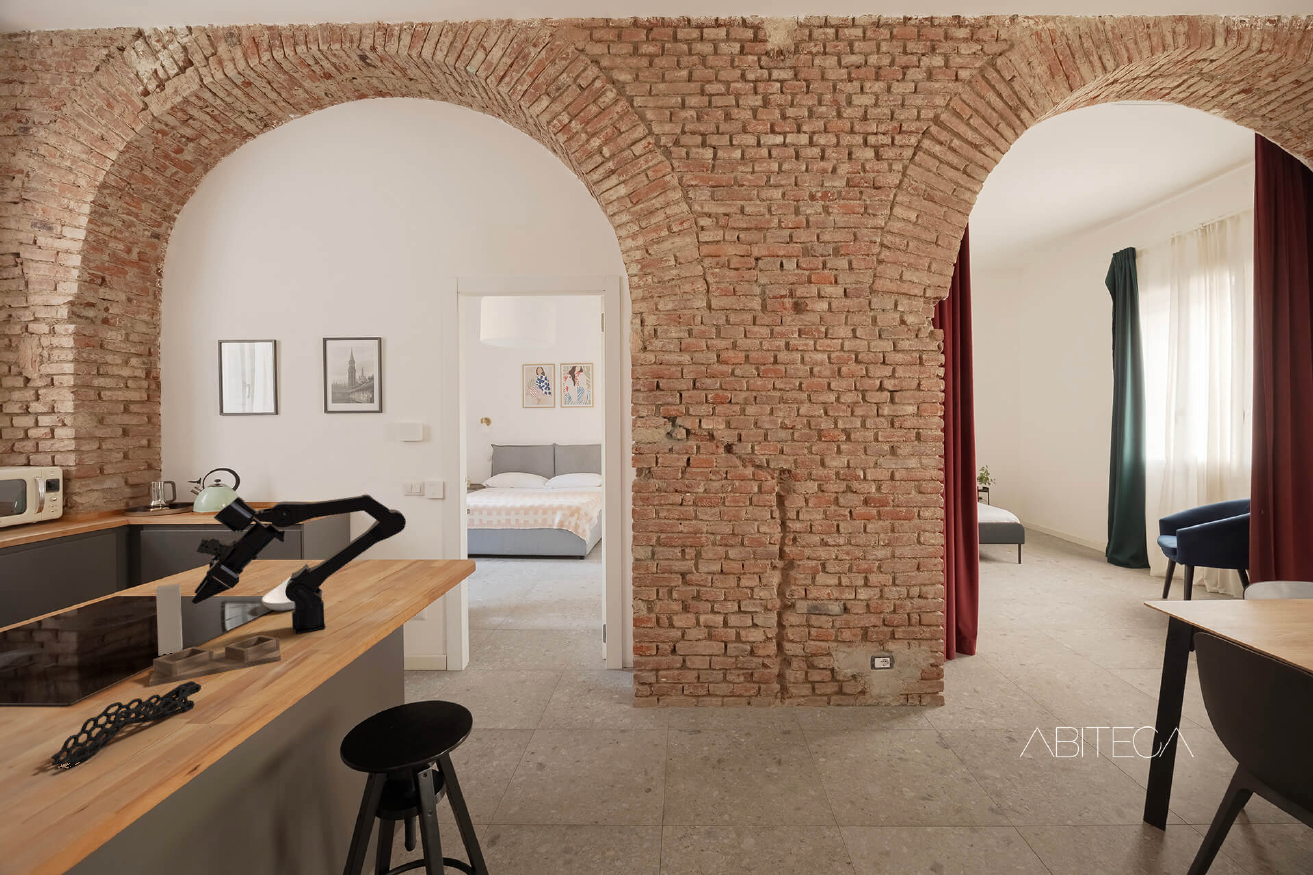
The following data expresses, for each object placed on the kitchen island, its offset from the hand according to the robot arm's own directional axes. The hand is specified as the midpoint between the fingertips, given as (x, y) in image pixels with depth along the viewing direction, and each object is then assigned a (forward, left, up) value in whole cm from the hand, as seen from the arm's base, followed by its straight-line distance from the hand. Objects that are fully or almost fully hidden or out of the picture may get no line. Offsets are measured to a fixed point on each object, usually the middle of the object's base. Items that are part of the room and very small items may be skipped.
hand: (194, 597), depth 139 cm
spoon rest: (-21, -28, -12) cm, 37 cm away
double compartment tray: (-5, +16, -11) cm, 20 cm away
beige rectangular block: (+5, 0, -11) cm, 12 cm away
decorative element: (+6, +43, -12) cm, 45 cm away
